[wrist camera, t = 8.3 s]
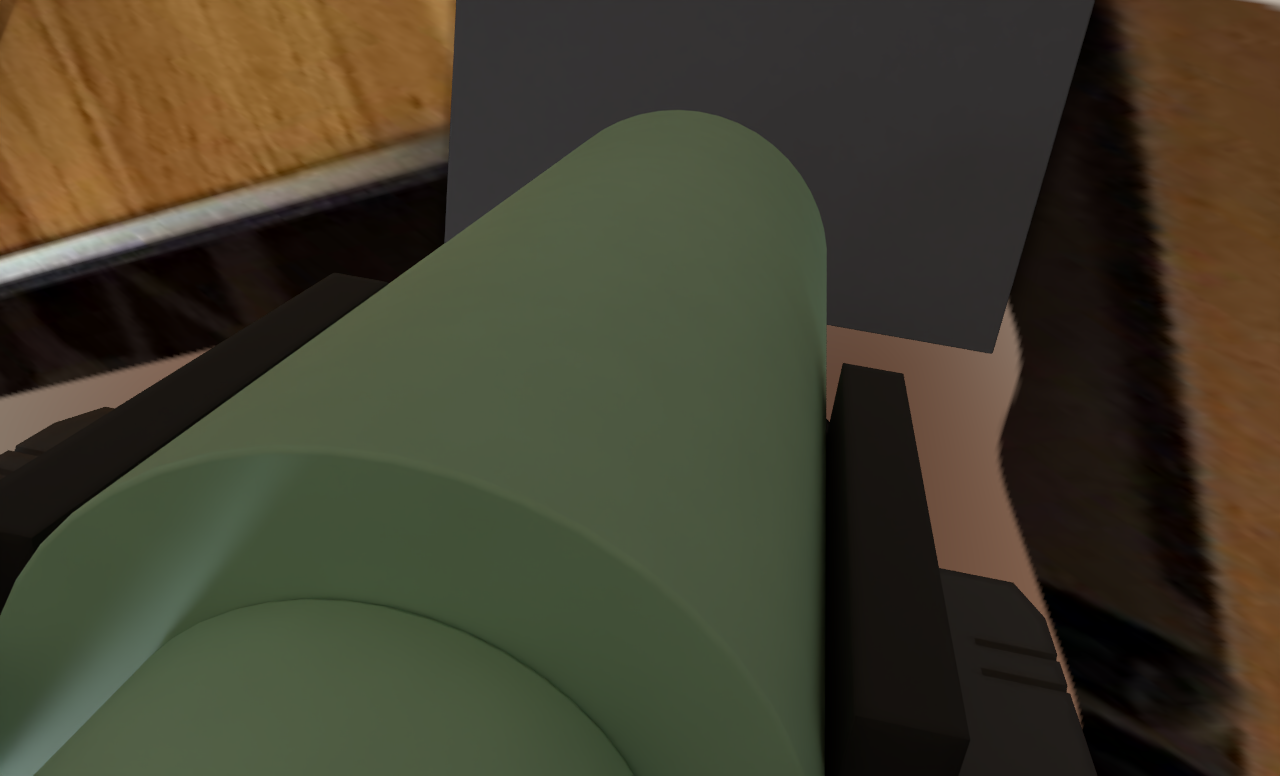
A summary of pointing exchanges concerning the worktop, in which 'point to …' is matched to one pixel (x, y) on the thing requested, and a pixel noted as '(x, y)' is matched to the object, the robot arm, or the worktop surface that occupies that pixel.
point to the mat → (801, 124)
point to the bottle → (482, 511)
